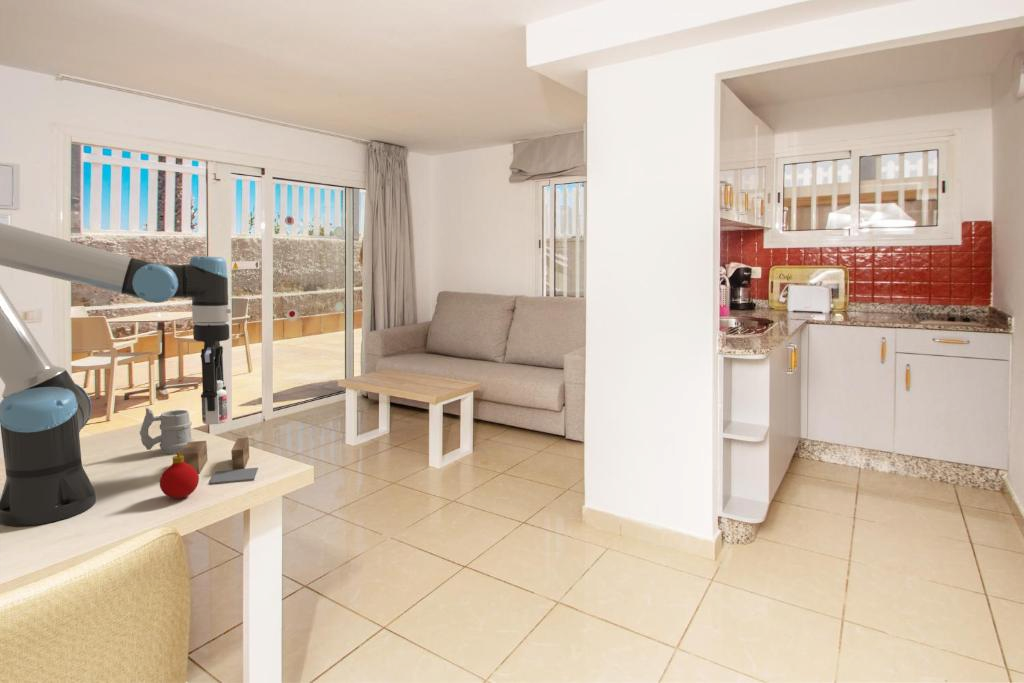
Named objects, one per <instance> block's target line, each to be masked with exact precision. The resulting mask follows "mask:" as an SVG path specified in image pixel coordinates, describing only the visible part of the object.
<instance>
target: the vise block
mask: <svg viewBox="0 0 1024 683" xmlns="http://www.w3.org/2000/svg"><path fill="white" fill-rule="evenodd" d="M230 452H231V465H232V468H231V470H235V469H246V467H247V464H248V461H249V459H250V443H249V437H239V438H236V440H235V443H234V444H233V446H232V448H231V450H230ZM179 455H183V456H184V462H185V463H186V464H188V465H190V466H192V467H193V468H194V469H195V470H196V471H197V473H198V475H200V474H201V472H202V470H203V469H204V467H205V465H206V464H207V462H208V445H207V440H197V441H196V440H194V442H188V443H187V444H186V445H185V447H184V448H183V449H182V451H181V452H180V453H179Z"/></svg>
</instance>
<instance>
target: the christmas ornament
mask: <svg viewBox="0 0 1024 683" xmlns="http://www.w3.org/2000/svg"><path fill="white" fill-rule="evenodd" d="M199 480H200V477H199V474H198V473H197V471H196V470H195V469H194V468H193V467H192V466H190V465H188V464H186V463H185V462H184V456H183V455H179V451H177V454H176V455H174V456H173V457H172V464H171V465H169V467H167V468H166V469H165V470H163V472H162V473H161V476H160V478H159V488H160V489H161V491H162V493H163V494H164V495H166V496H167V497H169V498H171V499H184V498H187V497H188V496H190V495H191V494H192V493H193V492H194V491H196V489H197V487H198V485H199Z"/></svg>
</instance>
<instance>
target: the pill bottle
mask: <svg viewBox="0 0 1024 683" xmlns="http://www.w3.org/2000/svg"><path fill="white" fill-rule="evenodd" d="M222 388H223V381H221V380H217V396H218V402H219V424H218V425H220V424H224V423H226V422H227V421H228V399H227V398H228V396H227V395H228V394H227V391H226V390H223V389H222ZM202 393H203V391H202V392H201V393H200V396H201V395H202ZM200 399H201V418H202V420H201V421H202V423H203V425H204V424H205V425H206V415H205V397H203V398H201V397H200Z"/></svg>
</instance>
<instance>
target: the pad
mask: <svg viewBox="0 0 1024 683" xmlns="http://www.w3.org/2000/svg"><path fill="white" fill-rule="evenodd" d="M258 470H259V467H251V468H250V467H247V468H246V467H245V469H235V470H232V469H227V470H225V469H224V470H216V471H215V472H214V473H213V476H212V477H211V479H210V481H209V485H217V484H218V485H219V484H228V483H230V484H231V483H239V482H248V481H249V482H251V481H255V479H256V477H257V473H258Z"/></svg>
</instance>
